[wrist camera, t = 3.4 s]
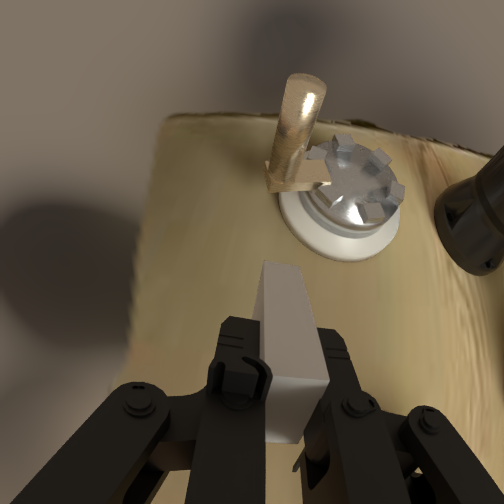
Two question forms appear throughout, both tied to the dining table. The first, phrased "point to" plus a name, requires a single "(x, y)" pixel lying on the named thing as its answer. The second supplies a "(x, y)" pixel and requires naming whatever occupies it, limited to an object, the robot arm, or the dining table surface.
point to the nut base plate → (327, 241)
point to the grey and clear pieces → (329, 168)
